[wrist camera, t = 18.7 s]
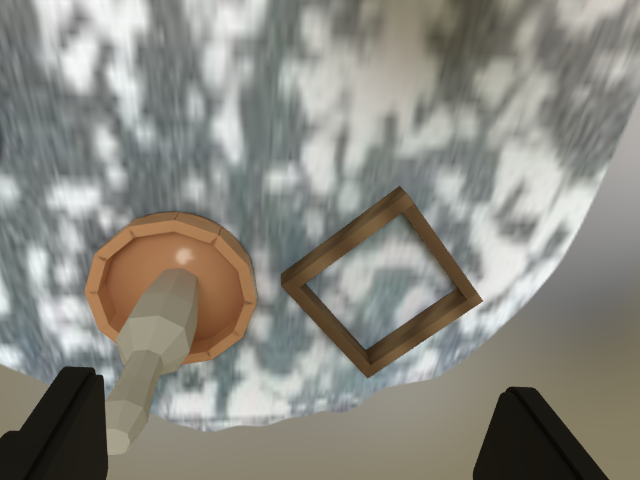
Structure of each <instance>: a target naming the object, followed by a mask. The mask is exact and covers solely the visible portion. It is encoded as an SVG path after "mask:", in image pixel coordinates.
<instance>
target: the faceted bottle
mask: <svg viewBox="0 0 640 480" xmlns="http://www.w3.org/2000/svg"><path fill="white" fill-rule="evenodd" d="M198 301H199V286H198V281H197V276H196V275H194V274H192V273H190V272H189V271H187V270H185V269H183V268H175V269H165V270H164V271H163V272H162V273H161V274H160V275H159V276H158V278H157V279H156V280H155V281H154V282H153V283H152V284H151V285H150V287H149V288H148V289H147V290H146V291H145V292H144V293H143V294H142V296H141V297H140V299H139V300H138V302H137V304H136V305H135V307H134V309H133V310H132V312H131V313H130V315H129V317H128V319H127V320H126V322H125V324H124V326H123V327H122V329H121V331H120V333H119V335H118V336H117V338H116V343H117V346H118V350H119V353H120V357H121V361H122V363H123V364H124V365H125V367H124V369H123V371H122V373H121V375H120V377H119V379H118V381H117V383H116V385H115V387H114V389H113V390H112V392H111V393H110V395H109V397H108V398H107V400H106V401H105V413H106V433H107V452H108V454H110V455H114V454H122V453H125V452H126V451H127V449H128V448H129V447H130V445H131V444H132V443H133V442H134V440H135V439H136V438H137V437H138V435H139V434H140V432H141V431H142V430H143V428H144V427H145V425H146V424H147V422H148V417H149V413H150V408H151V404H152V399H153V395H154V391H155V388H156V385H157V383H158V380H159V377H160V375H163V374H167V373H171V372H175V371H177V369H178V368H179V366H180V365H181V363H182V362H183V360H184V359H185V358H186V356H187V355H188V353H189V352H190V348H191V345H192V341H193V338H194V334H195V331H196V327H197V316H198Z"/></svg>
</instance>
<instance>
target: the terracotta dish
mask: <svg viewBox="0 0 640 480" xmlns="http://www.w3.org/2000/svg"><path fill="white" fill-rule="evenodd" d="M175 268H183V269H185V270H187V271H189V272H190V273H192V274H194V275H196V276H197V281H198V286H199V301H198V316H197V327H196V331H195V334H194V338H193V341H192V345H191V348H190V352H189V353H188V355H187V356H186V358H185V359H184V360H183V362H182V363H181V365H183V364H189V363H195V362H201V361H207V360H211V359H213V358H215V357H216V356H218V355H219V354H220V353H222V352H223V351H224V350H226V349H227V348H229V347H230V346H231V345H233V344H234V343H235V342H237V341H238V340H240V339H241V338H242V337H243V335H244V333H245V330H246V328H247V325H248V323H249V321H250V318H251V316H252V313H253V311H254V309H255V306H256V302H257V289H256V284H255V276H254V270H253V266H252V263H251V260H250V257H249V255H248V254H247V252H246V250H245V249H244V247H243V246H242V244H241V243H240V242H239V241H238V240H237V238H236V237H234V236H233V235H232V234H231V233H230V232H229V231H228V230H226V229H225V228H224V227H222V226H221V225H219V224H217V223H216V222H214V221H212V220H210V219H207V218H205V217H202V216H199V215H195V214H192V213H186V212H174V211H168V212H158V213H154V214H149V215H146V216H143V217H141V218H136V219H134V220H133V221H131V222H130V223H129V224H128V225H126V226H125V227H123V228H122V229H121V230H120V231H119V232H118V233H117V234H116V235H114V236H113V237H112V238H111V239H110V240H108V241H107V242H106V243H105V244H103V246H102V247H101V248H100V249H99V250H98V251H97V252H96V253H95V254H94V258H93V262H92V266H91V269H90V273H89V277H88V281H87V285H86V288H85V295H86V297H87V300H88V303H89V305H90V308H91V310H92V313H93V316H94V318H95V321H96V324H97V326H98V329H99V330H100V331H101V332H103V333H104V334H105V335H106V336H108V337H109V338H110V339H111V340H112V341H114V342H115V343H116V338H117V336H118V335H119V333H120V331H121V329H122V327H123V326H124V324H125V322H126V320H127V319H128V317H129V315H130V313H131V312H132V310H133V309H134V307H135V305H136V304H137V302H138V300H139V299H140V297H141V296H142V294H143V293H144V292H145V291H146V290H147V289H148V288H149V287H150V285H151V284H152V283H153V282H154V281H155V280H156V279H157V278H158V276H159V275H160V274H161V273H162V272H163V271H164V270H165V269H175ZM116 344H117V343H116Z"/></svg>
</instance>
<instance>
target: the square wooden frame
mask: <svg viewBox="0 0 640 480" xmlns="http://www.w3.org/2000/svg"><path fill="white" fill-rule="evenodd" d="M402 212H403V213H404V215H405V216H406V218H407V219H408V220H409V222H410V223H411V224H412V226H413V227H414V229H415V230H416V231H417V233H418V234H419V236H420V237H421V238H422V240H423V241H424V242H425V244H426V245H427V247H428V248H429V249H430V251H431V252H432V253H433V255H434V256H435V258H436V259H437V260H438V262H439V263H440V264H441V266H442V267H443V269H444V270H445V271H446V273H447V274H448V275H449V277H450V278H451V280H452V281H453V282H454V284H455V285H456V286H457V289H455V290H454V291H452V292H451V293H449V294H448V295H446V296H445V297H443V298H442V299H440V300H439V301H437V302H436V303H435V304H433V305H432V306H430V307H429V308H427V309H426V310H424V311H423V312H421V313H420V314H418V315H417V316H416V317H414V318H413V319H411V320H410V321H408V322H407V323H405V324H404V325H402V326H401V327H399V328H398V329H396V330H395V331H394V332H392V333H391V334H389V335H388V336H386V337H385V338H383V339H382V340H380V341H379V342H377V343H376V344H375V345H373V346H372V347H370V348H369V349H367V350H365V349H364V348H363V347H362V346H361V345H360V344H359V342H358V341H357V340H356V339H355V338H354V337H353V336H352V335H351V334H350V333H349V331H348V330H347V329H346V328H345V327H344V326H343V325H342V324H341V323H340V321H339V320H338V319H337V318H336V317H335V316H334V315H333V314H332V313H331V311H330V310H329V309H328V308H327V307H326V306H325V305H324V304H323V303H322V301H321V300H320V299H319V298H318V297H317V296H316V295H315V294H314V293H313V291H312V290H311V289H310V288H309V287H308V286H307V285H306V284H305V283H306V282H308V281H309V280H310V279H312V278H313V277H314V276H316V275H317V274H319V273H320V272H321V271H323V270H324V269H325V268H327V267H328V266H330V265H331V264H332V263H334V262H335V261H336V260H338V259H339V258H340V257H342V256H343V255H345V254H346V253H347V252H349V251H350V250H351V249H353V248H354V247H356V246H357V245H358V244H360V243H361V242H362V241H364V240H365V239H366V238H368V237H369V236H371V235H372V234H373V233H375V232H376V231H377V230H379V229H380V228H382V227H383V226H384V225H386V224H387V223H388V222H390V221H391V220H392V219H394V218H395V217H397V216H398V215H399V214H401V213H402ZM281 284H282V287H283V288H284V289H285V290H286V291H287V293H288V294H289V295H290V296H291V297H292V298H293V299H294V300H295V301H296V302H297V303H298V304H299V305H300V306H301V308H302V309H303V310H304V311H305V312H306V313H307V314H308V315H309V316H310V317H311V318H312V319H313V320H314V322H315V323H316V324H317V325H318V326H319V327H320V328H321V329H322V330H323V331H324V332H325V333H326V334H327V335H328V337H329V338H330V339H331V340H332V341H333V342H334V343H335V344H336V345H337V346H338V347H339V348H340V349H341V350H342V352H343V353H344V354H345V355H346V356H347V357H348V358H349V359H350V360H351V361H352V362H353V363H354V364H355V365H356V367H357V368H358V369H359V370H360V371H361V372H362V373H363V374H364V375H365V376H366V377H367V378H369V377H371V376H372V375H374V374H375V373H377V372H378V371H380V370H381V369H383V368H384V367H386V366H387V365H389V364H390V363H392V362H393V361H395V360H396V359H398V358H399V357H401V356H402V355H404V354H405V353H407V352H408V351H410V350H411V349H413V348H414V347H415V346H417V345H418V344H420V343H421V342H423V341H424V340H426V339H427V338H429V337H430V336H432V335H433V334H435V333H436V332H438V331H439V330H441V329H442V328H444V327H445V326H447V325H448V324H450V323H451V322H453V321H454V320H456V319H457V318H459V317H460V316H462V315H463V314H465V313H466V312H468V311H469V310H471V309H472V308H474V307H475V306H477V305H478V304H480V303H481V302H483V300H482V299H481V297H480V296H479V294H478V293H477V292H476V290H475V289H474V287H473V286H472V285H471V283H470V282H469V280H468V279H467V277H466V276H465V275H464V273H463V272H462V270H461V269H460V268H459V266H458V265H457V263H456V262H455V261H454V259H453V258H452V256H451V255H450V253H449V252H448V251H447V249H446V248H445V246H444V245H443V244H442V242H441V241H440V239H439V238H438V236H437V235H436V234H435V232H434V231H433V229H432V228H431V227H430V225H429V224H428V222H427V221H426V219H425V218H424V217H423V215H422V214H421V212H420V211H419V210H418V208H417V207H416V205H415V204H414V203H413V201H412V200H411V198H410V197H409V195H408V194H407V193H406V192H405V191H404V190H403V189H402V188H401V187H400V186H399V187H398V188H396V189H395V190H394V191H392V192H391V193H390V194H388V195H387V196H386V197H384V198H383V199H381V200H380V201H379V202H377V203H376V204H375V205H373V206H372V207H371V208H369V209H368V210H367V211H365V212H364V213H363V214H361V215H360V216H359V217H357V218H356V219H355V220H353V221H352V222H351V223H349V224H348V225H346V226H345V227H344V228H342V229H341V230H340V231H338V232H337V233H336V234H334V235H333V236H332V237H330V238H329V239H328V240H326V241H325V242H324V243H322V244H321V245H320V246H318V247H317V248H316V249H314V250H313V251H312V252H310V253H309V254H307V255H306V256H305V257H303V258H302V259H301V260H299V261H298V262H297V263H295V264H294V265H293V266H291V267H290V268H289V269H287V270H286V271H285V272H283V273H282V274H281Z"/></svg>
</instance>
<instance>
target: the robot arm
mask: <svg viewBox="0 0 640 480" xmlns="http://www.w3.org/2000/svg"><path fill="white" fill-rule="evenodd" d="M107 471H108V452H107V433H106V413H105V394H104V378H103V376H102V375H96V373H95V370H94V368H90V367H68V366H66V367H64V368H63V369H62V370H61V371H60V372H59V374H58V375H57V377H56V378H55V380H54V381H53V383H52V384H51V385H50V387H49V388H48V390H47V391H46V393H45V394H44V396H43V397H42V398H41V400H40V402H39V403H38V404H37V406H36V407H35V409H34V410H33V412H32V413H31V415H30V416H29V417H28V419H27V420H26V422H25V423H24V425H23V426H22V428H21V429H20V431H8V432H7V433H5V434H4V435H3V436H2V437H1V438H0V480H106V477H107ZM473 480H609V479H608V478H607V476H606V475H605V474H604V473H603V472H602V470H601V469H600V468H599V466H598V465H597V464H596V463H595V462H594V460H593V459H592V458H591V457H590V455H589V454H588V453H587V452H586V450H585V449H584V448H583V447H582V445H581V444H580V443H579V442H578V441H577V439H576V438H575V437H574V436H573V434H572V433H571V432H570V430H569V429H568V428H567V427H566V426H565V424H564V423H563V422H562V421H561V419H560V418H559V417H558V416H557V414H556V413H555V412H554V411H553V409H552V408H551V407H550V406H549V404H548V403H547V402H546V401H545V400H544V398H543V397H542V396H541V395H540V393H539V392H538V391H537V390H536V389H534V388H532V387H509V388H508V389H507V390H506V391H505V392H504V393H502V394H501V395H500V397H499V399H498V402H497V405H496V408H495V410H494V413H493V416H492V419H491V422H490V425H489V428H488V431H487V434H486V436H485V439H484V442H483V445H482V448H481V450H480V453H479V456H478V459H477V462H476V464H475V467H474V471H473Z"/></svg>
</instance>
